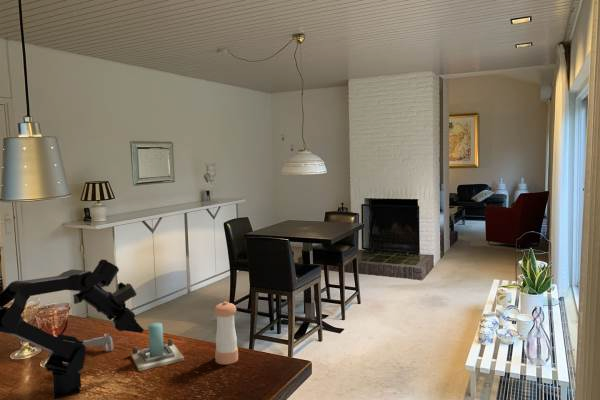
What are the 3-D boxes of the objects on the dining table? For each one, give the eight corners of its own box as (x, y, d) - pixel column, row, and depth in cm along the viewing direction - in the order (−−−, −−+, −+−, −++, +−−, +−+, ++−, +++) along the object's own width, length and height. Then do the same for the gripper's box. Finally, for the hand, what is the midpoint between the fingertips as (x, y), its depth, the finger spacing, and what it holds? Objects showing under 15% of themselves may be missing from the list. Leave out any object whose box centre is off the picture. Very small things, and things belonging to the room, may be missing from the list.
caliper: (113, 351, 158) (112, 333, 157) (111, 352, 157) (110, 334, 156) (60, 346, 162) (59, 329, 161) (58, 348, 161) (56, 330, 160)
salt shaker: (222, 366, 145) (220, 307, 143) (211, 358, 151) (209, 301, 149) (242, 359, 150) (241, 301, 148) (230, 352, 155) (229, 296, 153)
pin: (151, 358, 149) (150, 328, 148) (148, 353, 153) (146, 324, 151) (165, 355, 151) (164, 326, 150) (161, 350, 155) (160, 321, 154)
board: (138, 371, 143) (138, 361, 142) (130, 355, 154) (130, 346, 154) (184, 360, 150) (183, 351, 149) (173, 345, 161) (172, 337, 161)
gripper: (125, 284, 135) (165, 314, 142) (112, 271, 151) (148, 298, 158) (97, 316, 132) (139, 345, 139) (87, 299, 147) (125, 325, 154)
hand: (139, 326), depth 148 cm, fingers open, 9 cm apart
